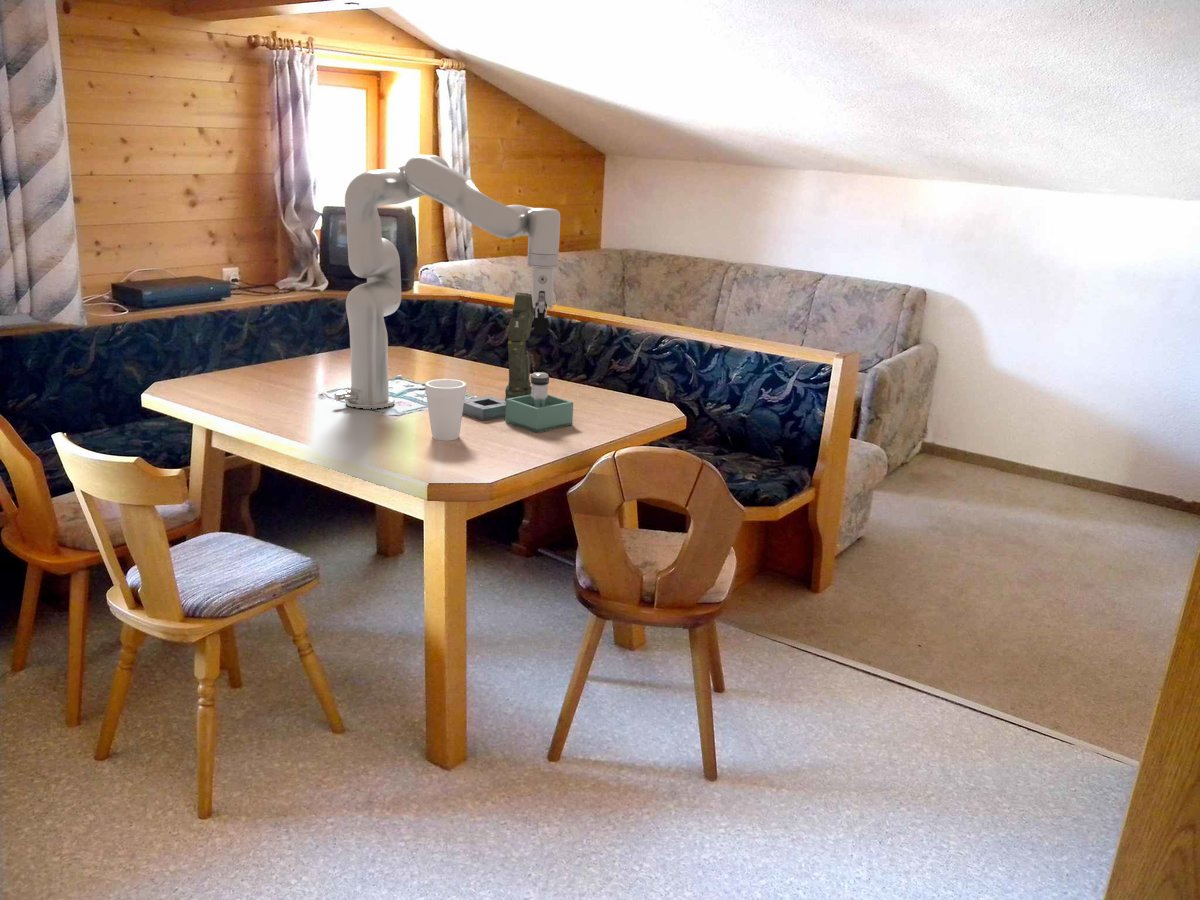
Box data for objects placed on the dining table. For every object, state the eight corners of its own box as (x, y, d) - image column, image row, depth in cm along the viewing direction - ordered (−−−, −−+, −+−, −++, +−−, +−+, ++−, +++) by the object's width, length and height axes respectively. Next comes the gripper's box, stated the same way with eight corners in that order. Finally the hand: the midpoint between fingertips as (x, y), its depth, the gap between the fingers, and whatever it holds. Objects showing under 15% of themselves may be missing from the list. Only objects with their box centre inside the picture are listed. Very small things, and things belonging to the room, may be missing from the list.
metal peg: (528, 422, 252) (530, 375, 248) (530, 417, 256) (531, 371, 253) (547, 423, 252) (548, 376, 248) (548, 418, 256) (549, 372, 253)
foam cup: (471, 433, 243) (471, 381, 239) (457, 444, 234) (457, 389, 230) (434, 429, 245) (434, 377, 241) (419, 439, 236) (419, 385, 232)
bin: (536, 432, 246) (537, 409, 244) (505, 421, 254) (505, 398, 252) (572, 425, 254) (573, 402, 253) (541, 414, 262) (541, 392, 261)
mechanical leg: (522, 404, 268) (532, 291, 267) (496, 401, 270) (506, 289, 268) (535, 404, 282) (544, 297, 280) (510, 401, 283) (519, 295, 281)
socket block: (483, 420, 254) (483, 409, 253) (459, 412, 261) (459, 401, 260) (513, 414, 261) (513, 403, 260) (489, 406, 268) (489, 395, 267)
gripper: (559, 265, 235) (556, 337, 240) (557, 257, 251) (554, 324, 256) (527, 264, 234) (524, 336, 239) (527, 255, 251) (524, 323, 256)
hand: (539, 330), depth 248 cm, fingers open, 9 cm apart
